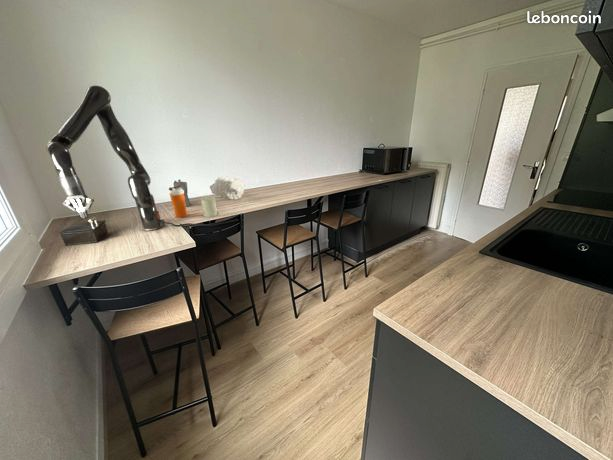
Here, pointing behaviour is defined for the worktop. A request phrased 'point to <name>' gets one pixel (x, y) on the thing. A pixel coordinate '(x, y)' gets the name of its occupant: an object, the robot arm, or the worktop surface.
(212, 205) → the can
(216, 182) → the crumpled white cloth
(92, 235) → the dark brown box
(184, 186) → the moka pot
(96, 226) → the lid
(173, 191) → the shaker bottle
